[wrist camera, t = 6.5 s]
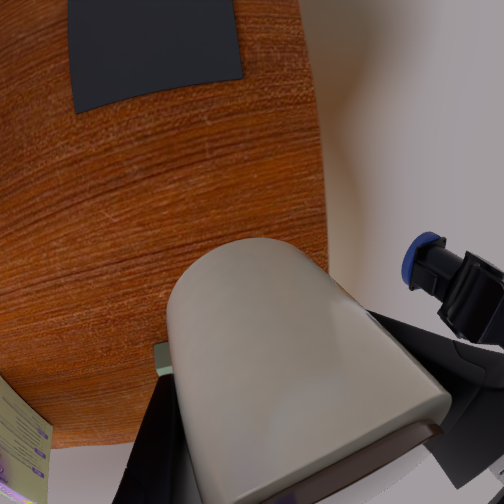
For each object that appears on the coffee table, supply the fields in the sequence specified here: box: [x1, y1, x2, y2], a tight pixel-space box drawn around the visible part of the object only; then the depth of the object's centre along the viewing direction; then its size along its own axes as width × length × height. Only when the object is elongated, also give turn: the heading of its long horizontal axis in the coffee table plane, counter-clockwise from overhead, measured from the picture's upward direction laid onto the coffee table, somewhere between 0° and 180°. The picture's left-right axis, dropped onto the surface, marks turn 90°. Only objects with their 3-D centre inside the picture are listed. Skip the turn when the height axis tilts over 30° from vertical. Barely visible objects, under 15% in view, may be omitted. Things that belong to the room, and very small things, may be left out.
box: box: [0, 375, 53, 504], centre depth 16 cm, size 10×6×12 cm, turn 14°
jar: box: [166, 238, 452, 504], centre depth 7 cm, size 6×6×8 cm
